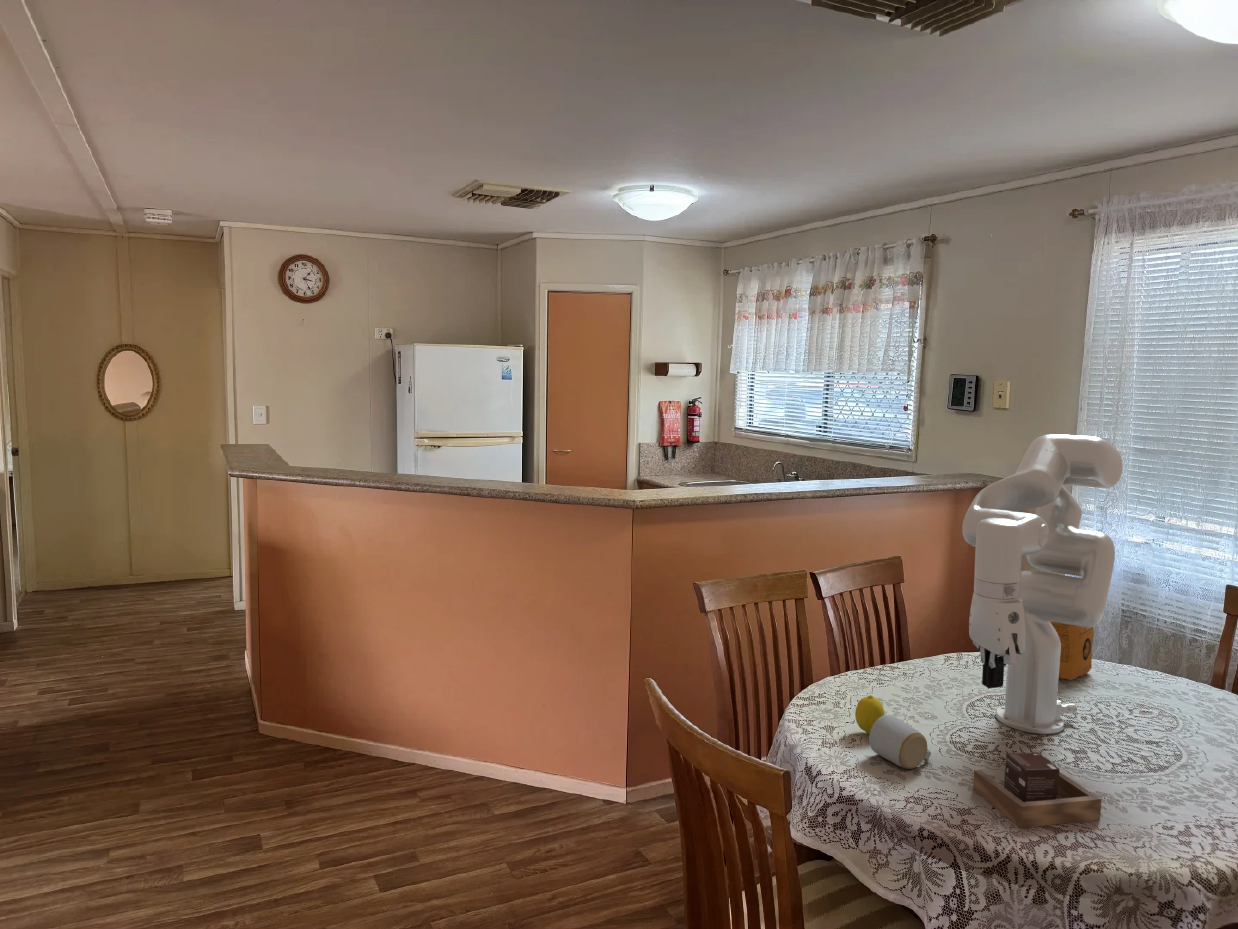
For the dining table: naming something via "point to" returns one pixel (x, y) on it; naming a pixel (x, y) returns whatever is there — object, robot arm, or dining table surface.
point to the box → (1031, 777)
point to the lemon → (868, 712)
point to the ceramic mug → (898, 742)
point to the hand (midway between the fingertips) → (992, 685)
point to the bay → (1041, 803)
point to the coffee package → (1074, 649)
